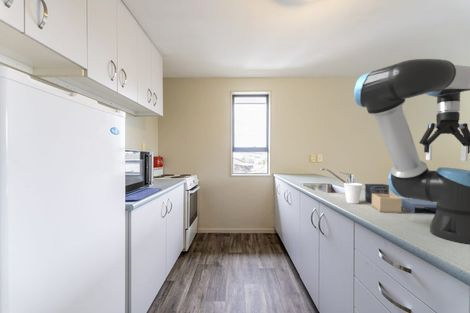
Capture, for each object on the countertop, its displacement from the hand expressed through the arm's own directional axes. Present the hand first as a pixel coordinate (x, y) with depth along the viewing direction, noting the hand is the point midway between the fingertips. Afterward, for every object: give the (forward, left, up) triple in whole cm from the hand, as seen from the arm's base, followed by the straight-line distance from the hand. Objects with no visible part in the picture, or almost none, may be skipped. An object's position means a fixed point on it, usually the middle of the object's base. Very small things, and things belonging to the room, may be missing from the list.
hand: (446, 160), depth 101 cm
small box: (+28, +18, -26) cm, 42 cm away
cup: (+22, +33, -26) cm, 47 cm away
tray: (+9, +20, -26) cm, 34 cm away
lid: (+12, +4, -26) cm, 29 cm away
